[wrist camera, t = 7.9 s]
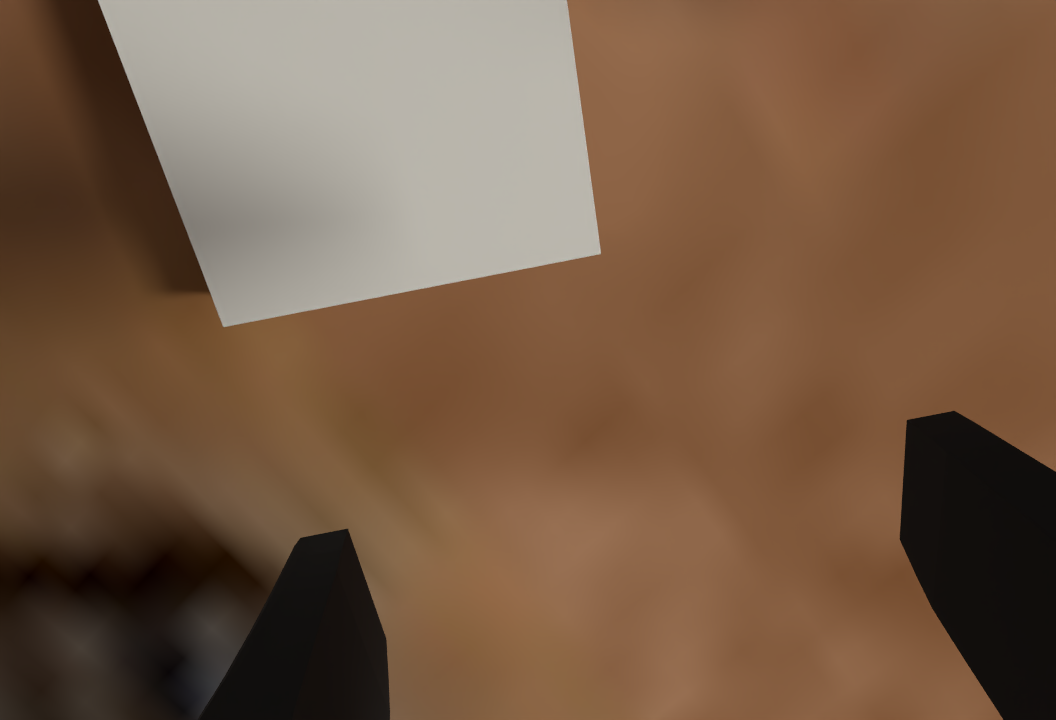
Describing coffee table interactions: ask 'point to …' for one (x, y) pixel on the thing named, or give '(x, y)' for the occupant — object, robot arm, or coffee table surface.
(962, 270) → the coffee table surface
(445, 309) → the coffee table surface
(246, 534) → the coffee table surface
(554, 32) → the stand
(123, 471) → the coffee table surface
